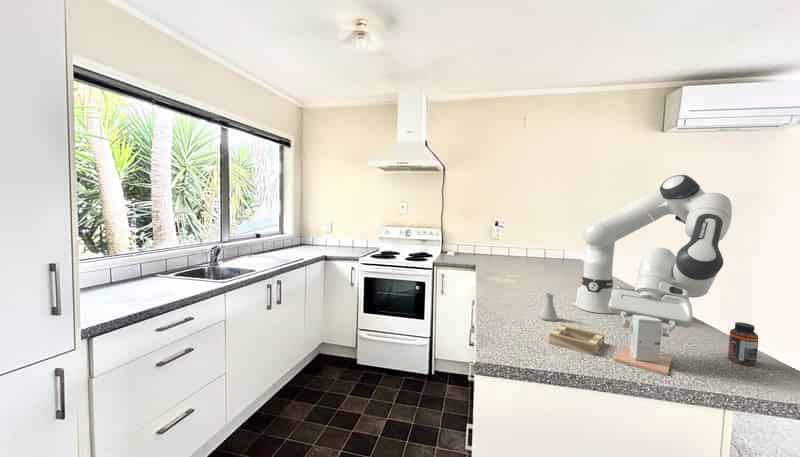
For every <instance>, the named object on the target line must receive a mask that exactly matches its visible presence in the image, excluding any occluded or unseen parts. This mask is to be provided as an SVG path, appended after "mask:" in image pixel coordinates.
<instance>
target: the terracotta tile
mask: <svg viewBox="0 0 800 457" xmlns="http://www.w3.org/2000/svg"><path fill="white" fill-rule="evenodd" d="M614 362H616V363H620V364H623V365H627V366H631V367H634V368H638V369H641V370H645V371H649V372H652V373H656V374H660V375H662V376H667V377H668V375H669V371H670V369H671V365H672V362H673V357H669V356H666V355H662V354H659V362H650V361H642V360H635V359H634V358H633V357H632V356H631V355H630V346H622V348H621V349H620V351H619V352H618V354H617V355H616V356H615V358H614Z"/></svg>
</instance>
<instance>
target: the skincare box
mask: <svg viewBox="0 0 800 457" xmlns="http://www.w3.org/2000/svg"><path fill="white" fill-rule="evenodd" d="M631 318H632V320H631V332H630V346H629V348H630V355H631V356H632V357H633V358H634V359H635V360H642V361H650V362H659V355H661V354H660V353H661V352H660V351H661V338H662V330H663V327H662V326H663V323H662V321H661V320H660V319H658V318H656V317H651V316H642V315H633V317H631Z"/></svg>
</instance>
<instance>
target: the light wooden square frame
mask: <svg viewBox="0 0 800 457" xmlns="http://www.w3.org/2000/svg"><path fill="white" fill-rule="evenodd" d="M548 344H550V345H551V344H552V345H555V346H558V347H562V348H565V349H569V350H572V351H576V352H580V353H583V354H588V355H591V356H594V355H596V354H597V352H598V351H599V350H600V348H602V347H603V345H604V344H605V334H604V333H598V332H595V331H590V330H586V329H582V328H577V327H573V326H569V325H564V324H562V325H560V326H558V328H556V329H554V330H553V331H551V332H550V333H549V334H548Z"/></svg>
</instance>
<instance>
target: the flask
mask: <svg viewBox="0 0 800 457" xmlns="http://www.w3.org/2000/svg"><path fill="white" fill-rule="evenodd" d="M544 295H545V300H544V304H543V307H542V309H541V311H540V312H539V316H538V319H541V320H543V321H548V322H555V321H557V322H558V321H559V319H558V315H557V312H556V308H555V305H554V295H555V294H553V293H545V294H544Z"/></svg>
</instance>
